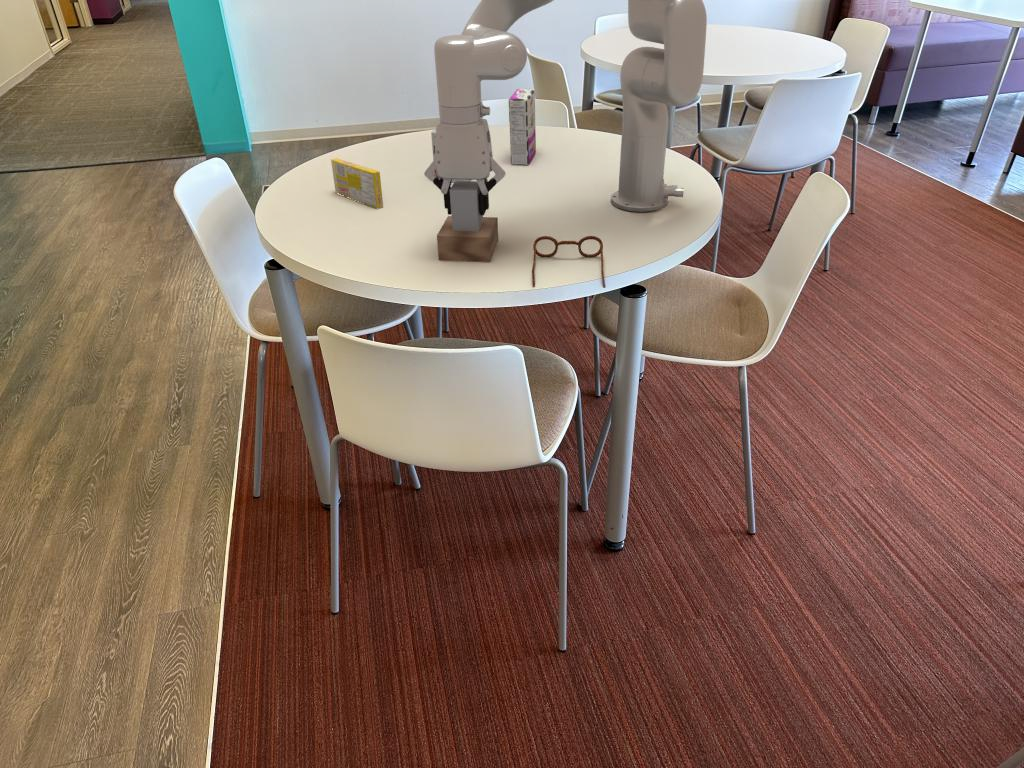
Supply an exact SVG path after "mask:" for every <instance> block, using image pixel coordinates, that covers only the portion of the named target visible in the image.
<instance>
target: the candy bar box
mask: <svg viewBox="0 0 1024 768" xmlns="http://www.w3.org/2000/svg"><path fill="white" fill-rule="evenodd" d="M535 90H536V89H535V88H517V89H516V90H515V91H514V92H513V94H512V95H511V96H510V97H509V99H508V112H509V113H508V117H509V139H510V140H509V142H510V146H509V147H510V164H511V166H530V164H531V162H532V160H533V158H534V157H535V155H536V153H537V147H536V145H537V140H536V133H537V132H536V96H535V95H536V94H535Z"/></svg>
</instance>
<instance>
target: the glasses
mask: <svg viewBox="0 0 1024 768" xmlns="http://www.w3.org/2000/svg"><path fill="white" fill-rule="evenodd" d="M544 240H547V241H550V242H552V243H554V250H553V251H552V252H551V253H548V254H545V253H541V252H539V251H538V249H537V244H538V243H539V242H542V241H544ZM588 240H589V241H590V240H594V241H596V242H597V243H598V244H599V250H597V252H595V253H592V254H589V253H585V252H584V251H583V250H582V244H583V243H584V242H586V241H588ZM562 245H575V246H577V249H578V253H579V255H580V256H582V257H583V258H596V257H598V256H600V262H601V263H600V264H601V265H600V266H601V267H600V271H601V281H602V288H606V283H605V273H604V251H603V250H604V244H603V240H602V239H601V238H600V237H598V236H595V235H587V236H584V237H582V238H580V239H579V240H578V241H576V240H561V241H558V240H557V239H556V238H554V237H552V236H551V235H550V236H548V235H543V236H540V237H536V239H535V240H534V242H533V247H532V250H533V258H532V259H533V261H532V267H531V276H532V277H531V279H532V281H531V282H532V288H536V277H535V276H536V275H535V269H536V262H537V261H536V260H537V259H536V258H537V257H540V258H544V259H545V258H547V259H549V258H551V257H552V258H553V257H554V256H556V254H557V252H558V249H559V246H562Z"/></svg>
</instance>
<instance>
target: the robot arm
mask: <svg viewBox="0 0 1024 768" xmlns="http://www.w3.org/2000/svg"><path fill="white" fill-rule="evenodd" d="M554 1H555V0H481V1H480V2H479V3H478V5H477V6H476V7H475V9H474V10H473V13H472V14H471V16H470V18H469V19H468V20H467V22H466V24H465V26H464V28H463V30H462V32H461V34H453V35H445V36H441V37H439V38H438V39H436V41H435V43H434V46H433V47H434V48H433V49H434V50H433V52H434V63H435V76H436V77H435V78H436V87H437V98H438V99H437V100H438V101H437V102H438V112H439V114H438V115H439V119H438V120H437V122H436V127H435V130H436V135H435V160H434V161H433V160H432V162H431V163H430V164H429V166H428V167H427V168H426V170H425V171H424V172H423V173H424V177H426V178H427V179H428V180H430V181H431V182H432V183H433V185H435V186H436V188H437V189H439V191H440V192H441V194H443V202H444V203H443V205H444V209H446V211H447V216H452V215H451V202H450V188H451V187H452V186H451V185H452V183H453V182H452V179H461V180H470V181H475V180H476V181H477V182H478V185H479V187H480V190H481V191H480V195H479V207H480V215H482V216H483V217H485V214H486V212H487V210H488V211H489V208H490V200H489V199H490V197H489V192H490V191H492V189H493V188H494V187H495V186H496V185H497V184H498V183H499V182H500V181H501V180H503V179H504V178H505V176H506V171H505V170H504V169H503V168H502V166H501V165H500V164H499V163H498V162H497V161H496V160H495V159H494V157H493V155H494V154H493V146H492V140H491V139H492V138H491V132H490V127H489V123H488V119H486V118H484V117H486V116H490V115H491V108H490V106H485V105H484V104H483V101H482V83H481V81H507V80H510V79H513V78H515V77H516V76H518V75H519V74H521V72H523V69H524V68H525V67H526V64H527V60H528V52H527V49H526V46H525V44H524V42H523V41H522V39H520V38H519V37H518V36H517V35H515V34H514V33H512V32H511V33H510V32H508V31H509V30H510V28H511V27H512V26H513V25H514V24H515V23H516V22H517V21H518V20H520V18H522V17H523V16H524V15H526V14H528V13H530V12H532V11H534V10H538V9H539V8H541V7H544V6H546V5H549V4H550V3H552V2H554ZM627 12H628V13H627V18H628V19H627V21H628V28H629V31H630V33H631V35H633V37H635V38H637V39H638V40H641V41H644V42H645V41H646V42H649V43H656V44H659V45H663V48H660V47H659V48H658V47H654V46H641V47H638V48H636V49H635V48H634V49H633V50H632V51H630V52H629V53H628V54H627V55H626V57H625V58H624V60H623V62H622V64H621V67H620V75H619V78H620V79H619V80H620V89H621V97H622V126H621V127H622V128H621V129H622V130H621V142H620V157H619V159H620V161H619V173H618V175H619V176H618V190H616V191H615V192H613V193H612V194H611V197H610V203H611V204H612V205H613V206H614V207H616V208H618V209H621V210H624V211H630V212H635V213H636V212H637V213H639V212H642V213H643V212H644V213H645V212H654V211H659V210H661V209H663V208H665V207H667V206H668V204H669V197H674V198H684V191H685V190H684V187H678V185H675V184H674V185H673V184H672V185H668V184H666V183H665V178H664V173H665V164H666V163H665V162H666V152H667V141H668V132H669V111H668V106H670V107H685V106H687V105H689V104H691V102H693V101H694V100H695V98H696V97H697V96H698V94H699V92H700V90H701V86H702V82H703V76H704V68H705V57H706V56H705V55H706V39H707V22H708V20H707V18H708V17H707V10H706V7H705V3H704V2H703V0H627ZM435 169H436V173H437V174H436V173H435ZM491 172H493V173H494V175H493V177H491V178H490V179H489V180H488V178H489V177H490V175H491V174H490V173H491ZM442 178H443V179H444V180H443V179H442Z"/></svg>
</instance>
